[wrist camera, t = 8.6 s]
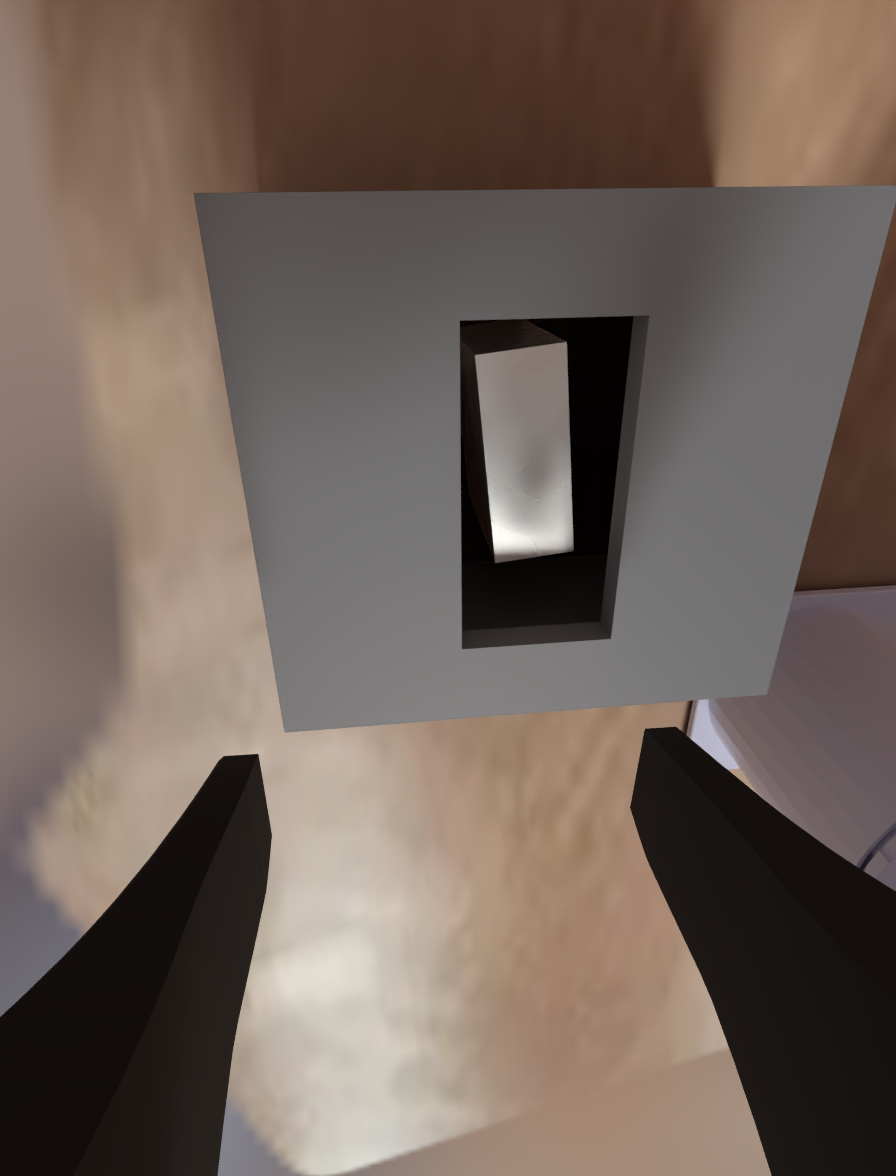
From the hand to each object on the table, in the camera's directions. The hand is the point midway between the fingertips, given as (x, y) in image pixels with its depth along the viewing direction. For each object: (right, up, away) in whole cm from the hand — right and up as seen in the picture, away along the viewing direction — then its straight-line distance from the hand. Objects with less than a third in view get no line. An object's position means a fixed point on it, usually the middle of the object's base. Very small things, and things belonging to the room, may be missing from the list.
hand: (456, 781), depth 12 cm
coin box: (+1, +9, +7) cm, 11 cm away
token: (+1, +9, +7) cm, 12 cm away
